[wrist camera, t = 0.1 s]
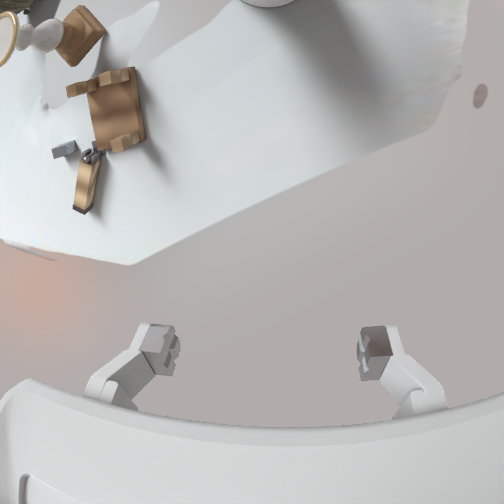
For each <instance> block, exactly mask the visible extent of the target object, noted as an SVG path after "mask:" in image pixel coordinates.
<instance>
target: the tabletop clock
mask: <svg viewBox="0 0 504 504" xmlns="http://www.w3.org/2000/svg"><path fill="white" fill-rule="evenodd" d="M33 2H34V0H0V14H1V13H3V12H6V11H11V12H14V13H15V14H16V15H17V14H18V13H20V12H21V11H23V10H24V12H23V13H24V14H25V15H26V14H28V13H29V9H27V8H28V7H30V6H31V5H32V3H33Z"/></svg>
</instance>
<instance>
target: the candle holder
mask: <svg viewBox="0 0 504 504" xmlns="http://www.w3.org/2000/svg"><path fill="white" fill-rule="evenodd" d="M105 32H106V29H105V28H104V27H103V26H102V24H101V23H100V22H99V21H98V20H97V19H96V18H95V17H94V16H93V14H92V13H91V12H90V11H89V10H88V9H87V8H86V7H85V6H81V5H79V6H78V7H76V9H74V10H72V12H71V13H70V14H69V15H68V16H67V17H66V18H65V20H64V21H63V22H61V21H60V20H58V19H48V20H46V21H44V22H42V23H41V24H39V25H38V26H37V27H36V28H33V27H32V25H31V24H24V25H23V26H21V27H20V24H19V19H18V17H17V15H16V14H15V13H14V12H11V11H6V12H3V13H1V14H0V67H2V66H3V65H4V64H5V63H6V62H7V61H8V60H9V58H10V57H11V55H12V53H13V52H14V49H15V48H16V49H17V50H18V51H23V50H25V49H26V48H27V47H28V46H29V45H31V46H32V47H33V48H34V49H35V50H36V51H38V52H40V53H48V52H50V51H52V50H54V49H56V51H57V52H58V53H59V54H60V55H61V57H62V58H63V59H64V60H65V61H66V62H67V63H68V64H69V65H70V66H71V67H73V66H77V65H78V64H79V62H80V61H81V60H82V59H83V58H84V57H85V55H86V54H87V53H88V52H89V51H90V50H91V48H92V47H93V46H94V45H95V44H96V43H97V42H98V40H99V39H100V38H101V37H102V36H103V35H104V34H105Z"/></svg>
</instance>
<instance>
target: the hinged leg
mask: <svg viewBox="0 0 504 504" xmlns="http://www.w3.org/2000/svg"><path fill="white" fill-rule="evenodd" d="M91 151H92V149H90V148H89V149H88V150H86V151H84V152H83V153H82V159H83V158H84V157H85V156H87V155H89V154H90V153H91ZM100 154H101V153H99V152H98V153H96V154H94V155H93V156H92V157H91V160H90V161H89V162H87V163H83V161H82V159H81V160H80V164H79V170H78V176H77V183H76V191H75V199H74V205H73V209H74V210H76V211H78V212H80V213H82V214H84V215H85V214H86V213H87V212H88V211H89V210H90V209H91V208H92V207H93V203H92V202H93V195H94V190H95V184H96V179H97V174H98V169H99V164H100V160H99V159H100Z"/></svg>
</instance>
